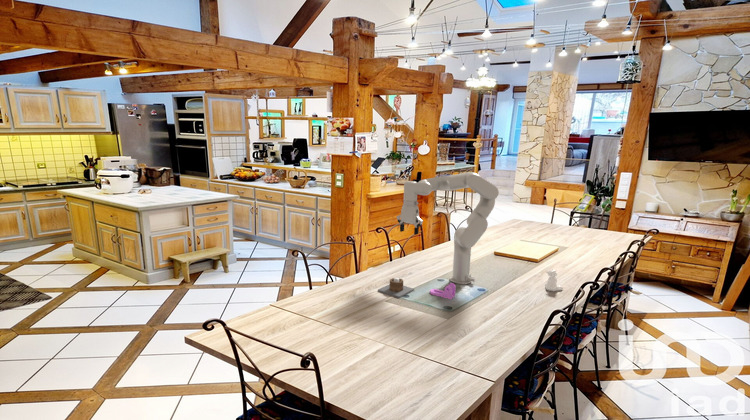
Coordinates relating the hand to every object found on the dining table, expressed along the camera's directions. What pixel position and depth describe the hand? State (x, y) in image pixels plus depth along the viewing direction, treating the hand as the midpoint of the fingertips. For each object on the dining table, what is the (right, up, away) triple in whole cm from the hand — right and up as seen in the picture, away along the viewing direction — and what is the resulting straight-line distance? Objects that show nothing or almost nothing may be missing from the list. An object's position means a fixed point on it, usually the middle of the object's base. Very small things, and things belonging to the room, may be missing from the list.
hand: (409, 232), depth 232 cm
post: (-8, -31, -12) cm, 34 cm away
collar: (-8, -30, -12) cm, 33 cm away
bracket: (+16, -33, -15) cm, 39 cm away
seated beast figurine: (+79, -32, -5) cm, 86 cm away
